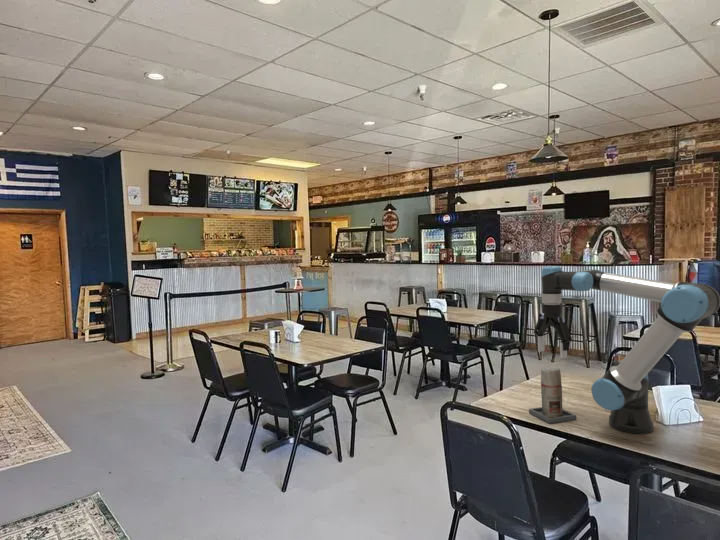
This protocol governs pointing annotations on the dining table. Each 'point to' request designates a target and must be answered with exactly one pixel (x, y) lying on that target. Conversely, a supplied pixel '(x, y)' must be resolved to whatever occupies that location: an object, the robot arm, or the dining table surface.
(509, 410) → the dining table surface
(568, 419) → the tray
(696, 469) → the dining table surface
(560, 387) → the spray can
